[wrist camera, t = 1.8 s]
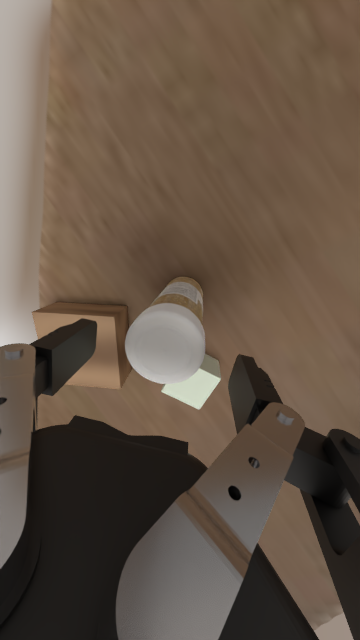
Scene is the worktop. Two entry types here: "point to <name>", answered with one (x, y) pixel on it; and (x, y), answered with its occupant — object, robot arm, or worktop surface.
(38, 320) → the walnut block
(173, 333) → the sprinkles bottle
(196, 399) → the sage block
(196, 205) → the worktop surface
